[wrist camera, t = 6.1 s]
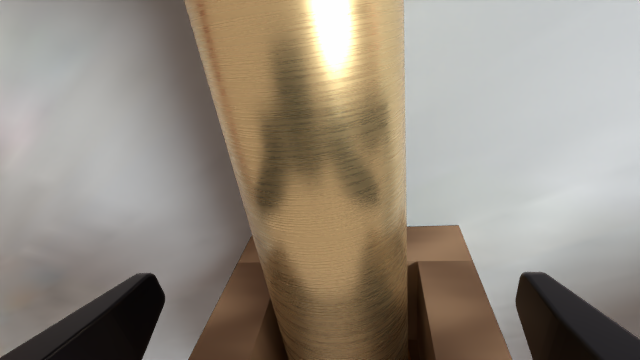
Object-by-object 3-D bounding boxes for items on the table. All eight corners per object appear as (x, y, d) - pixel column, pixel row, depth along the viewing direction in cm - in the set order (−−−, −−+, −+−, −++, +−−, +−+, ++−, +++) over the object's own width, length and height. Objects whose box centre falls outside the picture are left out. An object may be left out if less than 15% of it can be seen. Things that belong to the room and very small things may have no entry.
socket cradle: (458, 225, 13) (531, 407, 7) (450, 322, 16) (499, 512, 10) (253, 231, 15) (176, 382, 9) (278, 318, 18) (232, 479, 12)
